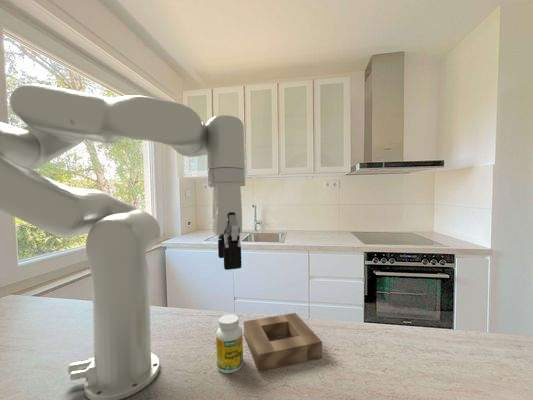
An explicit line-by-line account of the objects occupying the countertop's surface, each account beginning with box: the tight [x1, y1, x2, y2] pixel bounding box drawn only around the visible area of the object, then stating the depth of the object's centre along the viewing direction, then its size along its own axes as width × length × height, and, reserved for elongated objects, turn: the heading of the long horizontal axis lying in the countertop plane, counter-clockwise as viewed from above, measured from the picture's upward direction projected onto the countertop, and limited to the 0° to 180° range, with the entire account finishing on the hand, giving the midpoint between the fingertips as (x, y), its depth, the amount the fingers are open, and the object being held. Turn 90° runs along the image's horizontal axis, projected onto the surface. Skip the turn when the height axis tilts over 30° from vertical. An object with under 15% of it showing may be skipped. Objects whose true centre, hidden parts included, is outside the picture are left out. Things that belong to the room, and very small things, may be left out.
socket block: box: [243, 312, 323, 373], centre depth 57 cm, size 14×14×4 cm
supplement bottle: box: [215, 313, 244, 374], centre depth 51 cm, size 5×5×10 cm
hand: (229, 262), depth 51 cm, fingers open, 9 cm apart
